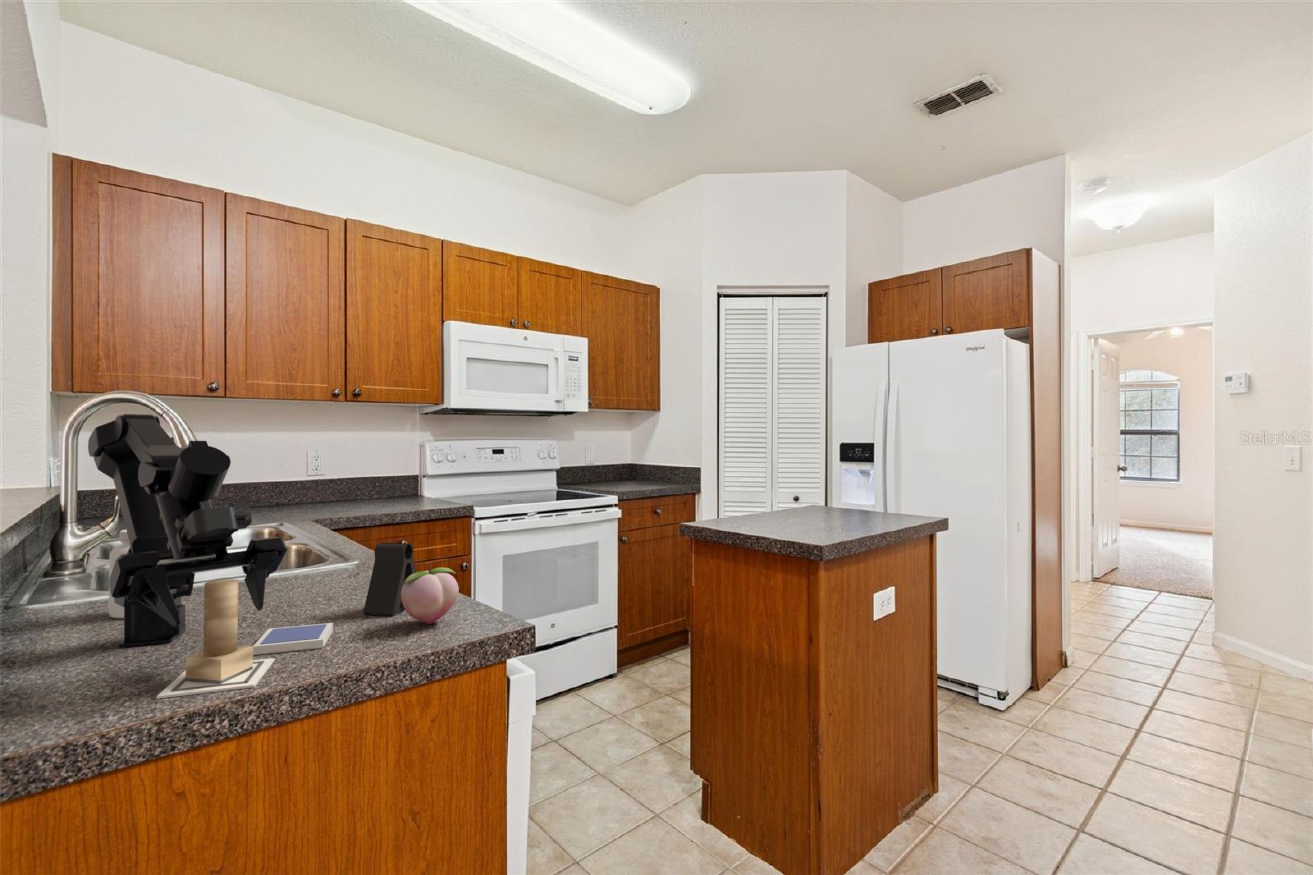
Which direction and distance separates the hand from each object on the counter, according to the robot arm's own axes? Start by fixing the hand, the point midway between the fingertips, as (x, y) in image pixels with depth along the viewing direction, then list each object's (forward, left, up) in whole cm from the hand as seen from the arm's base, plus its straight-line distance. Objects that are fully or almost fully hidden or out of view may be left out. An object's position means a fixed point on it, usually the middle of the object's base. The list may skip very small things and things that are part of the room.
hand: (221, 616), depth 79 cm
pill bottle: (-24, +41, -8) cm, 48 cm away
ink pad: (+6, +13, -8) cm, 16 cm away
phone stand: (+19, +28, -8) cm, 35 cm away
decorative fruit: (+25, +16, -8) cm, 31 cm away
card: (0, 0, -8) cm, 8 cm away
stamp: (0, 0, -8) cm, 8 cm away
